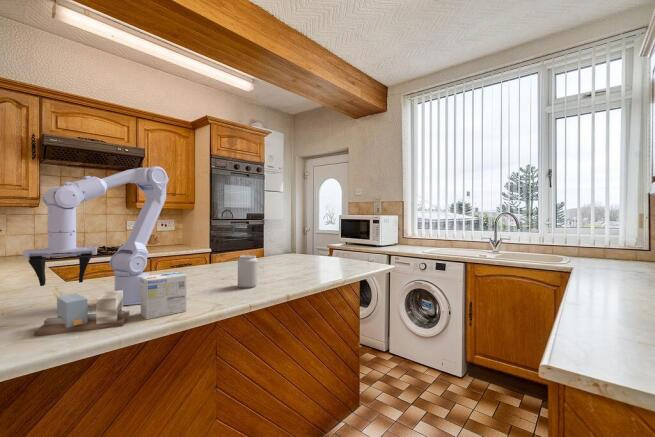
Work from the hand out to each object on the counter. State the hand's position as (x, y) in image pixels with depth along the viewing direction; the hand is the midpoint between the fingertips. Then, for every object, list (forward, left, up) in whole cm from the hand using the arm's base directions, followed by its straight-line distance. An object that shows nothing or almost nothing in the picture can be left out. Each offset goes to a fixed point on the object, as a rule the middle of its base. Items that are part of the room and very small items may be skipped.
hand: (62, 283), depth 81 cm
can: (-51, -19, -10) cm, 55 cm away
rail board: (-7, +7, -9) cm, 14 cm away
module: (-4, +7, -8) cm, 12 cm away
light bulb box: (-24, +4, -10) cm, 26 cm away
